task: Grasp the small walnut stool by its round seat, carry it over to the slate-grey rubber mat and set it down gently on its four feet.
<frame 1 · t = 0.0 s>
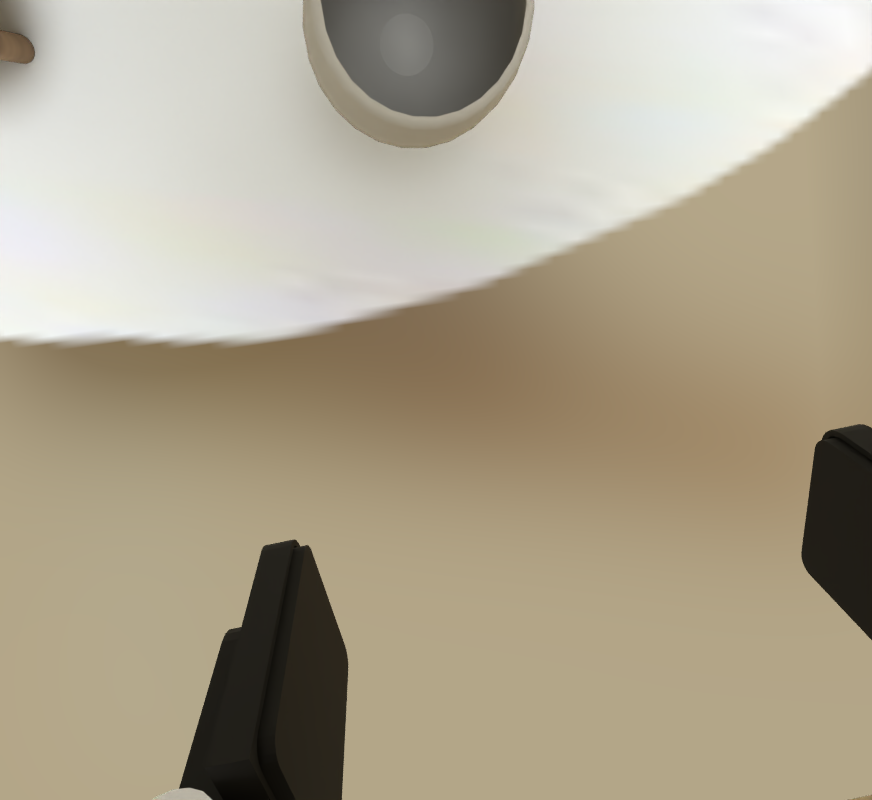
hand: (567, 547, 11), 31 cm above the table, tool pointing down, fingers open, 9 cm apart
wineglass: (397, 65, 35), on the table
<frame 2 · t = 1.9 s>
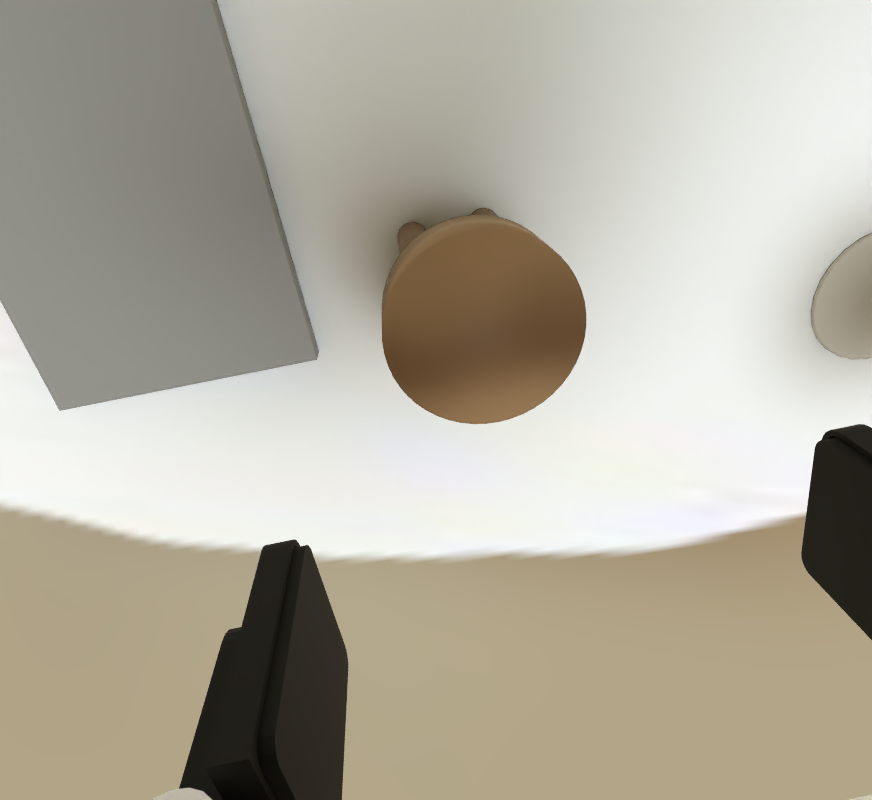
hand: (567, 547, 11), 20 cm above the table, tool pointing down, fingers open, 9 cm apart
mat: (110, 170, 25), on the table
stool: (453, 265, 29), on the table
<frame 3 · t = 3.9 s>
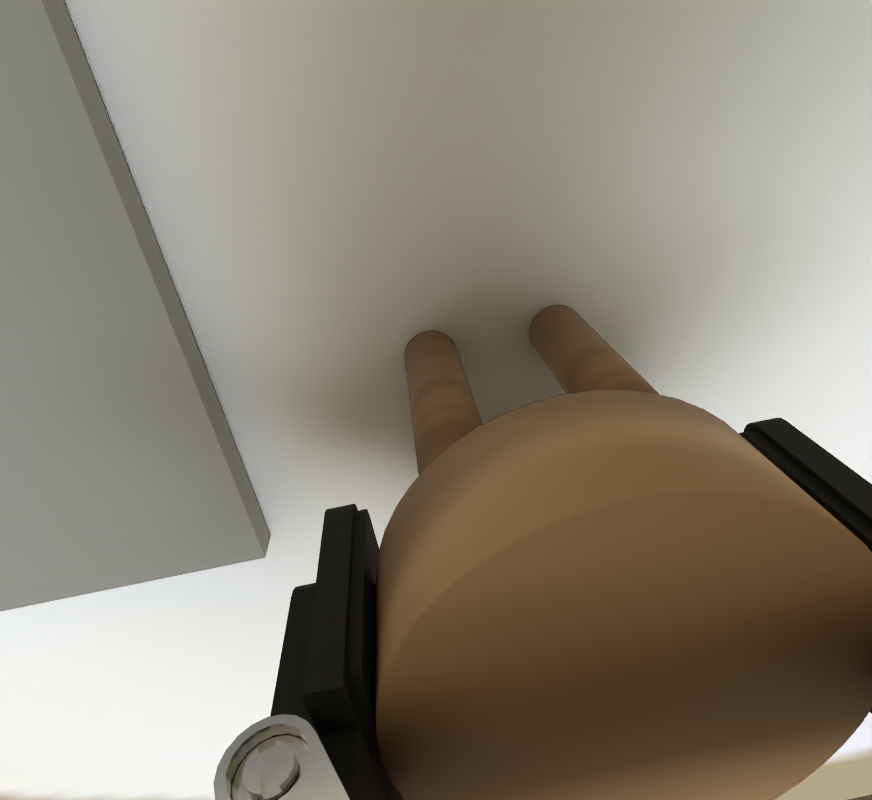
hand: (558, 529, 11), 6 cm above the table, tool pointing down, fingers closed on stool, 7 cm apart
stool: (501, 399, 16), on the table, touching gripper
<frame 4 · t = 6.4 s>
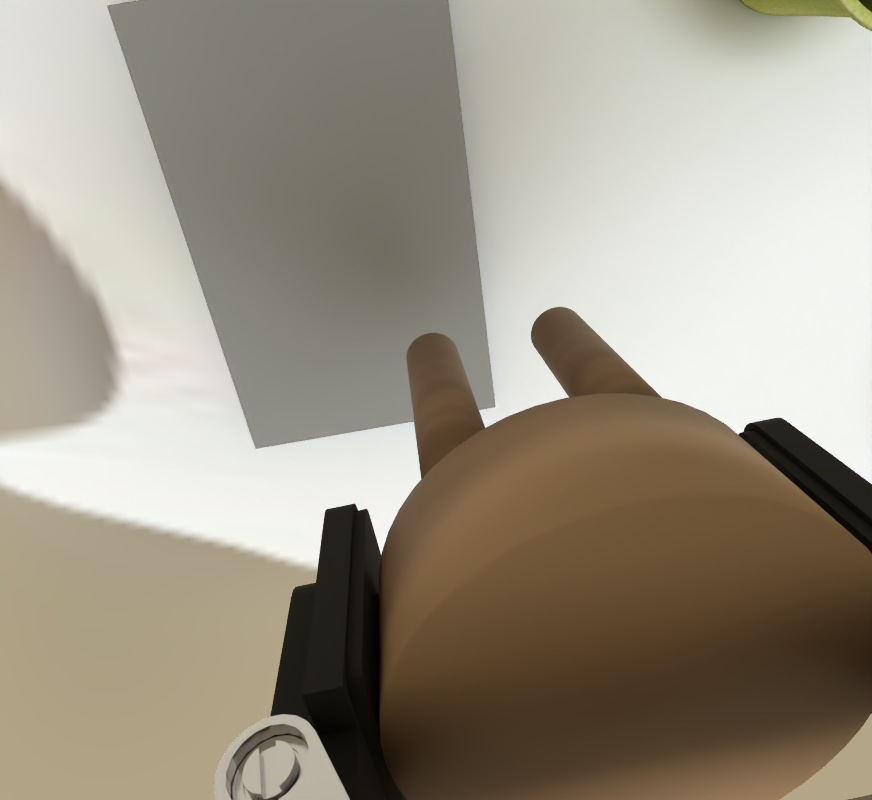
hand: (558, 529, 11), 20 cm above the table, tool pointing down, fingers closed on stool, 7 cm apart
mat: (335, 236, 28), on the table
stool: (502, 400, 16), point 14 cm above the table, touching gripper
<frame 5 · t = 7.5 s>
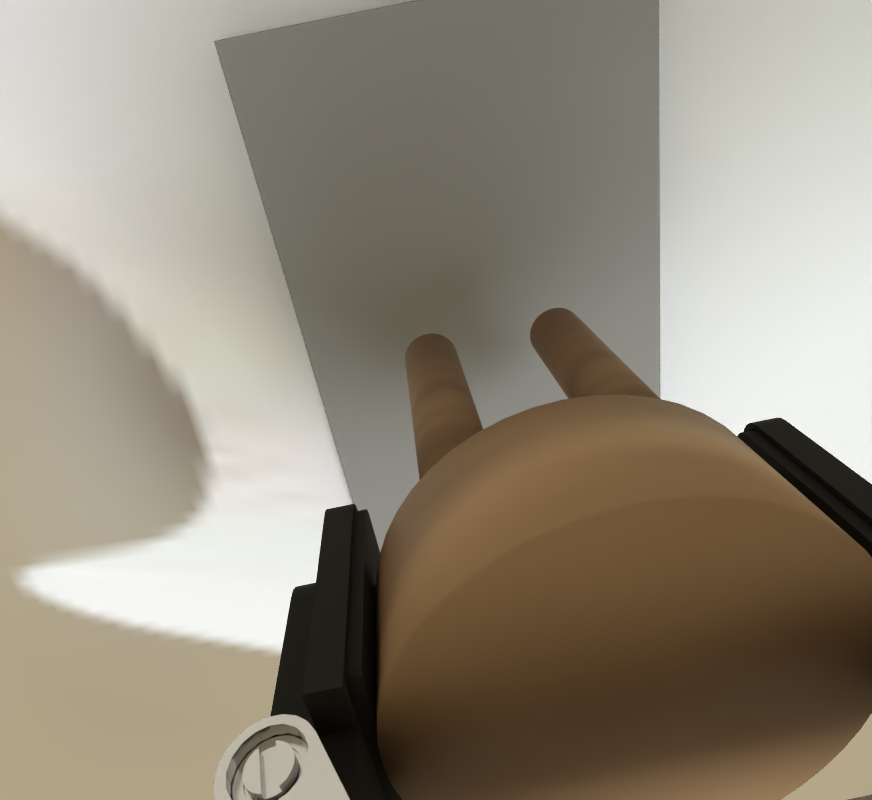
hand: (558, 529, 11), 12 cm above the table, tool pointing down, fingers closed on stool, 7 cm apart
mat: (479, 313, 22), on the table
stool: (501, 401, 16), point 7 cm above the table, touching gripper
when the fingers open (8 cm above the table, at t = 8.7 s): stool drops 1 cm, resting on mat.
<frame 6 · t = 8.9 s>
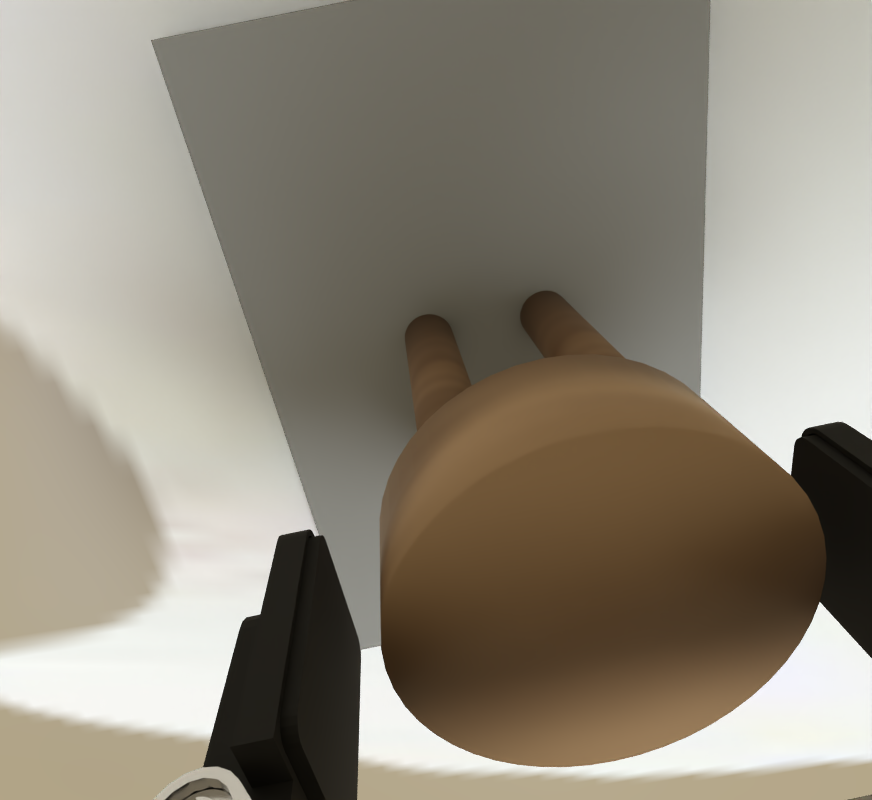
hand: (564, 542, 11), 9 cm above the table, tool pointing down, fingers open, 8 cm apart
mat: (485, 365, 19), on the table
stool: (494, 378, 18), point 1 cm above the table, touching mat
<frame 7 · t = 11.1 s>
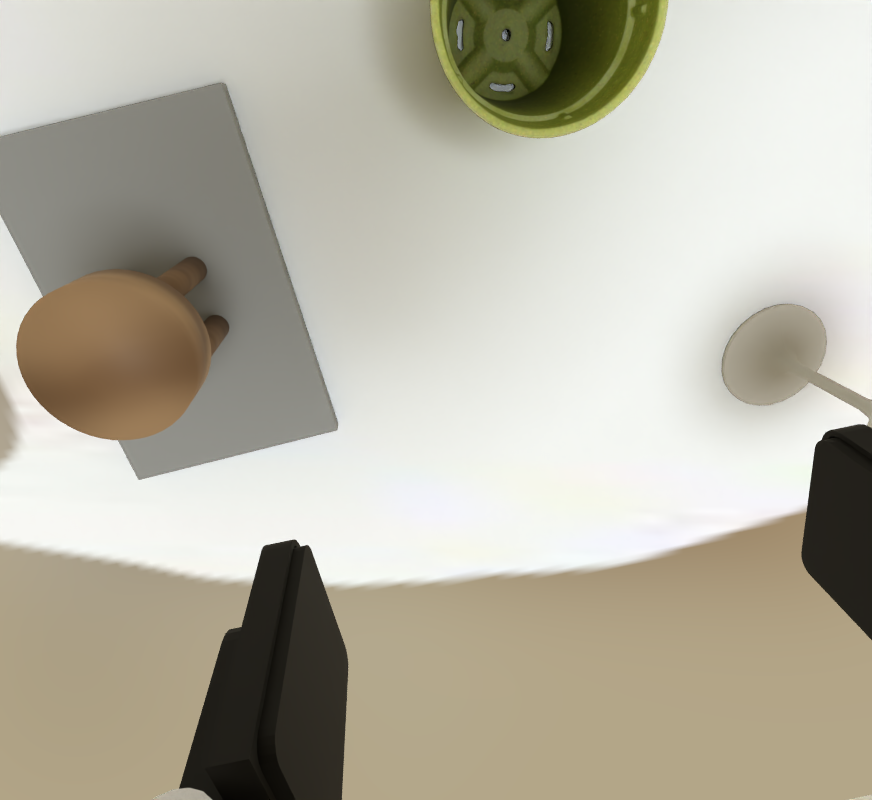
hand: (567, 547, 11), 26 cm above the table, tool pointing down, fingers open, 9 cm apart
mat: (179, 301, 34), on the table
wineglass: (771, 354, 40), on the table
plant pot: (503, 39, 31), on the table
stool: (176, 306, 33), point 1 cm above the table, touching mat
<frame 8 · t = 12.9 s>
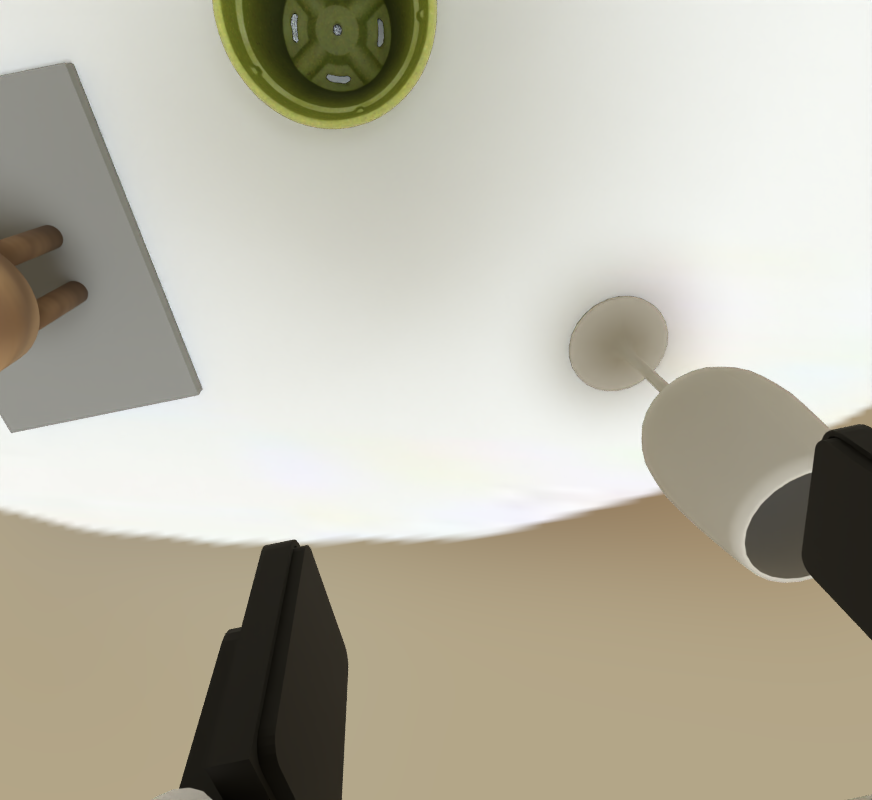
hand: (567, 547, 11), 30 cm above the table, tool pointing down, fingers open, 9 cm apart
mat: (42, 266, 37), on the table
wineglass: (616, 343, 43), on the table
plant pot: (338, 34, 33), on the table
stool: (35, 270, 36), point 1 cm above the table, touching mat
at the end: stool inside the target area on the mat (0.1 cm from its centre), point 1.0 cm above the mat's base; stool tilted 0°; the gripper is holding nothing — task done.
